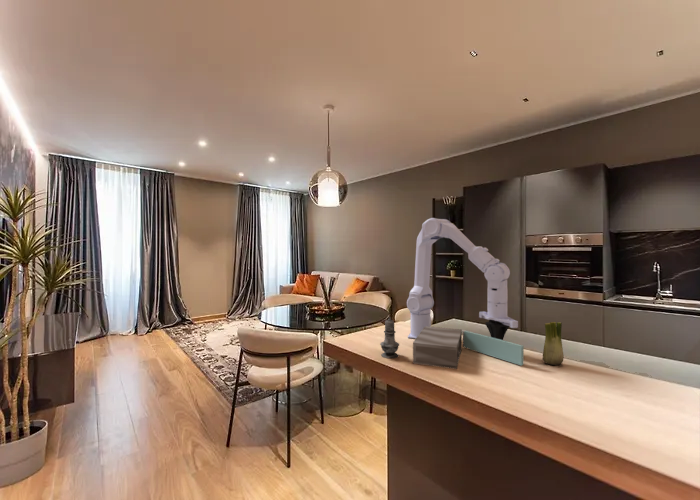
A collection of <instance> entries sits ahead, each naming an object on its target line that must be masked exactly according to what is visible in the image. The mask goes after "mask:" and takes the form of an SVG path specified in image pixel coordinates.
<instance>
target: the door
mask: <svg viewBox="0 0 700 500" xmlns="http://www.w3.org/2000/svg"><path fill="white" fill-rule="evenodd" d="M462 347H463V348H465V349H467V350H471V351H474V352H477V353H480V354H483V355H486V356H489V357H490V356H491V357H494V358H495V359H496V358H497V359H498V360H503V361H506V362H508V363H512V364H515V365H518V366H521V367H522V366H524V356H525V355H524V348H525V347H524V345H523V344H518V343H515V342H511V341H507V340H504V339H503V340H500V339H496V338H492V337H491V336H489V335H484V334H481V333H477V332H473V331H470V330H463V329H462Z"/></svg>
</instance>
